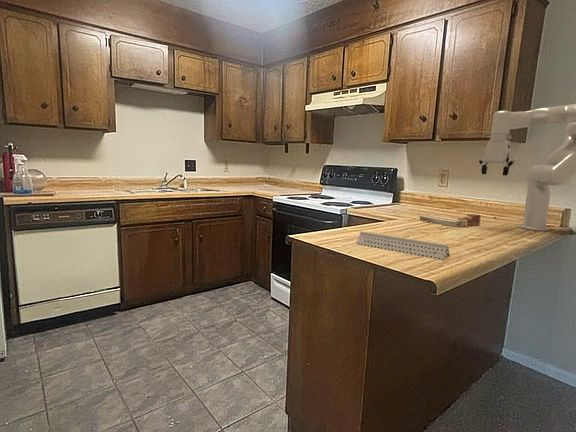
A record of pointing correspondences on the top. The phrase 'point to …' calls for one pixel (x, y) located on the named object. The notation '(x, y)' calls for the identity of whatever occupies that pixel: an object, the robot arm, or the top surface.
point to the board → (443, 220)
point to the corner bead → (404, 245)
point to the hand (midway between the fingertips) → (494, 174)
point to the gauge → (471, 219)
